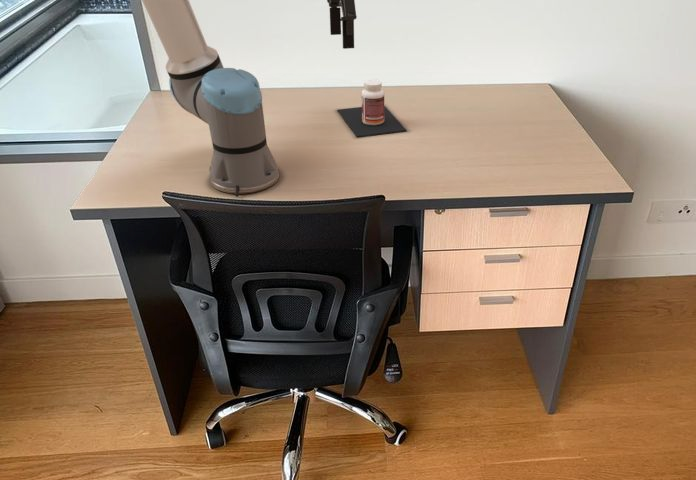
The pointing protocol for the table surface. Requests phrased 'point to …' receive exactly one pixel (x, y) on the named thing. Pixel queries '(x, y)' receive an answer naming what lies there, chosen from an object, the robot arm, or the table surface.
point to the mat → (361, 130)
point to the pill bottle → (372, 103)
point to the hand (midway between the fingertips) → (341, 41)
